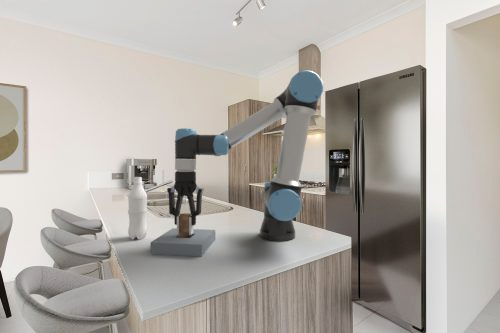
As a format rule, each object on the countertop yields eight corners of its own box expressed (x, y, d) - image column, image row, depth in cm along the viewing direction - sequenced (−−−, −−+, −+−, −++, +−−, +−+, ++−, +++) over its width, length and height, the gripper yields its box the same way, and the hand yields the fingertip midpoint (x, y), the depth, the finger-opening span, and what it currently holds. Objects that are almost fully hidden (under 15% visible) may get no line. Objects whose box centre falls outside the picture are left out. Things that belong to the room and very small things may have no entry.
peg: (192, 244, 96) (192, 213, 95) (188, 248, 92) (188, 215, 91) (182, 244, 96) (182, 213, 96) (177, 247, 92) (177, 215, 92)
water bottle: (140, 241, 99) (140, 178, 99) (124, 240, 101) (123, 177, 100) (150, 235, 106) (150, 176, 106) (135, 234, 108) (135, 176, 107)
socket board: (215, 239, 102) (215, 229, 102) (201, 256, 84) (201, 244, 84) (172, 237, 104) (172, 228, 104) (150, 253, 86) (150, 242, 86)
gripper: (210, 170, 96) (210, 231, 97) (168, 170, 98) (167, 229, 99) (204, 171, 89) (204, 237, 89) (158, 170, 91) (158, 235, 91)
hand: (185, 233), depth 94 cm, fingers closed on peg, 4 cm apart
